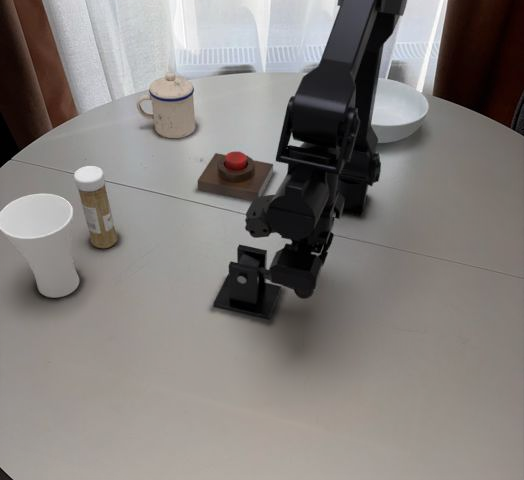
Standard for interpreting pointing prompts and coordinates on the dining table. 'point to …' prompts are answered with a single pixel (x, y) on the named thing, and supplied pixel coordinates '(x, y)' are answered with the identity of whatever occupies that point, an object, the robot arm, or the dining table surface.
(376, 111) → the serving bowl
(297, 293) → the lever
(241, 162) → the button
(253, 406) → the dining table surface
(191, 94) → the teacup with lid
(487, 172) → the dining table surface
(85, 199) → the sprinkles bottle
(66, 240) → the cup
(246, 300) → the bracket
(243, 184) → the switch block
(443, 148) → the dining table surface
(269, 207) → the robot arm
